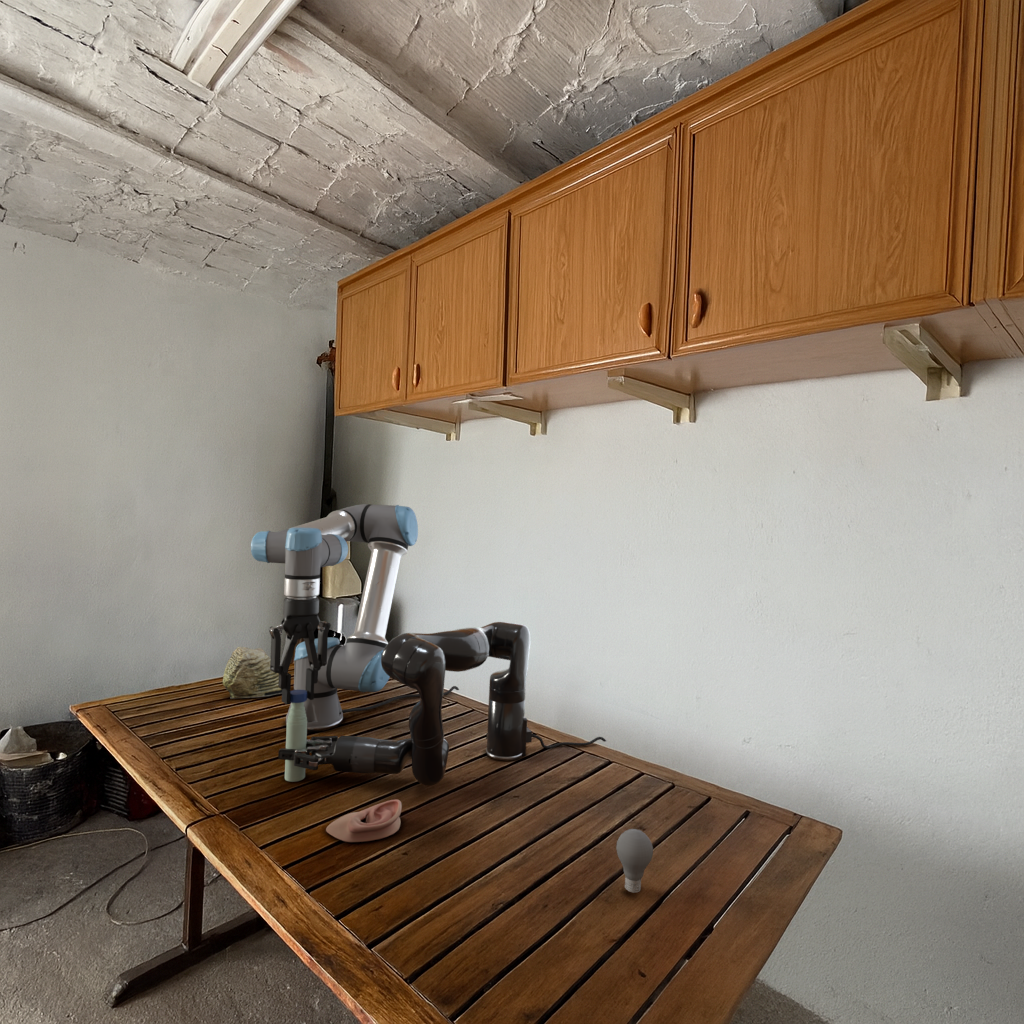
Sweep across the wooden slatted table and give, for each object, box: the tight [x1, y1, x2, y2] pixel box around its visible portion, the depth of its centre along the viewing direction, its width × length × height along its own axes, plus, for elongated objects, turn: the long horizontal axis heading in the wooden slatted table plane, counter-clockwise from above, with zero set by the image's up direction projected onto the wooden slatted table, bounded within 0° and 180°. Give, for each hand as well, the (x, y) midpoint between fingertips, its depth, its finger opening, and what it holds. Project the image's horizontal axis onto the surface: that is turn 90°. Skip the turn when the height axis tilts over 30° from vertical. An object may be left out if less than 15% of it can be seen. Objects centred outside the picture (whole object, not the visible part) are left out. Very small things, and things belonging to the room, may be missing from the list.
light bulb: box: [615, 828, 654, 894], centre depth 106 cm, size 6×6×10 cm
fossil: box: [222, 646, 282, 699], centre depth 198 cm, size 9×18×15 cm, turn 132°
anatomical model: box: [325, 799, 403, 843], centre depth 122 cm, size 13×4×12 cm
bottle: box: [284, 702, 308, 783], centre depth 142 cm, size 4×4×18 cm
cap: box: [290, 689, 307, 704], centre depth 142 cm, size 4×4×2 cm
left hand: (297, 700), depth 142 cm, fingers open, 5 cm apart
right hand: (284, 749), depth 142 cm, fingers closed on bottle, 4 cm apart
